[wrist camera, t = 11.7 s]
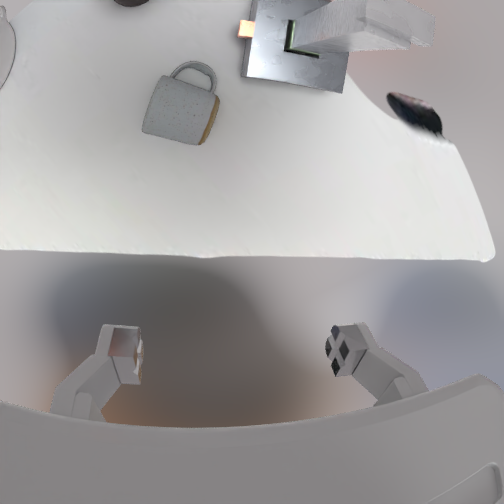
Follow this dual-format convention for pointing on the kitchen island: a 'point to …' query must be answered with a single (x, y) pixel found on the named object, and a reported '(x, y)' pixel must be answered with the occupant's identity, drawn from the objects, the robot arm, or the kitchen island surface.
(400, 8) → the column
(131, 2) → the bottle
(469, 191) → the kitchen island surface
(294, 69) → the stand sleeve
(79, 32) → the kitchen island surface
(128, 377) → the robot arm
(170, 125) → the ceramic mug
